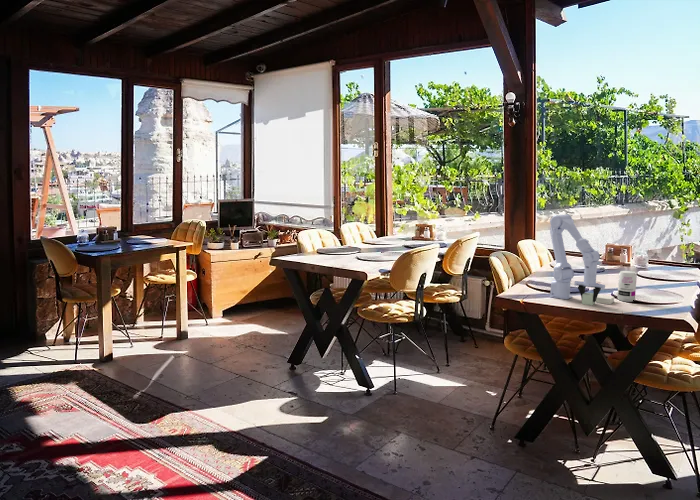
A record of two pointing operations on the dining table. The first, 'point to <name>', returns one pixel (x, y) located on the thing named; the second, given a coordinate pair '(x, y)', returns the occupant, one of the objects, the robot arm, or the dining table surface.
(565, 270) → the robot arm
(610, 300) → the cream box
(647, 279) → the dining table surface
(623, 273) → the supplement can
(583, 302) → the green cube
